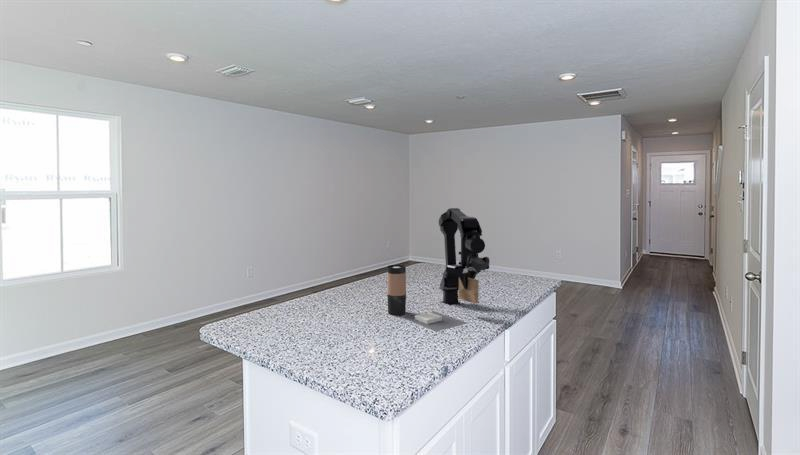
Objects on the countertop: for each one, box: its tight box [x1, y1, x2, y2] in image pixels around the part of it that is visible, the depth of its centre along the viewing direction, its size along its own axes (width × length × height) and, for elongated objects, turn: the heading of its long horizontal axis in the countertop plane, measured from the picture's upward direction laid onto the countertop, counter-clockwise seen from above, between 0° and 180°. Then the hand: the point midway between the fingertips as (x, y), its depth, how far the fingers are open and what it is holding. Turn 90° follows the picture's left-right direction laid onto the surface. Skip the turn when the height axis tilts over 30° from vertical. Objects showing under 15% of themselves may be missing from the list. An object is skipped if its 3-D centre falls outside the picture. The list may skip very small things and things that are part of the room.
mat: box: [403, 310, 468, 332], centre depth 165 cm, size 20×16×1 cm
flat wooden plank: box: [458, 278, 480, 305], centre depth 169 cm, size 9×2×9 cm, turn 36°
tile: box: [415, 311, 442, 324], centre depth 166 cm, size 8×2×8 cm
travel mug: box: [386, 264, 407, 317], centre depth 174 cm, size 8×8×20 cm
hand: (467, 288), depth 169 cm, fingers closed on flat wooden plank, 2 cm apart
